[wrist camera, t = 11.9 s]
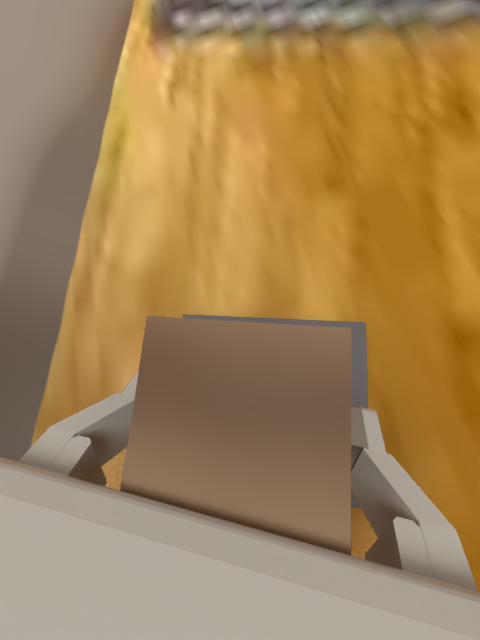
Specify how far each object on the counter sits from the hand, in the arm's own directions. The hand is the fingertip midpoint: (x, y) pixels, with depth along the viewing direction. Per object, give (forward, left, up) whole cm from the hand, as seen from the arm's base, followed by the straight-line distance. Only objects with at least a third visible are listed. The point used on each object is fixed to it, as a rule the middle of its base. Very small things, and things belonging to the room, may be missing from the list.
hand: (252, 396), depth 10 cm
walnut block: (-1, 0, -5) cm, 5 cm away
